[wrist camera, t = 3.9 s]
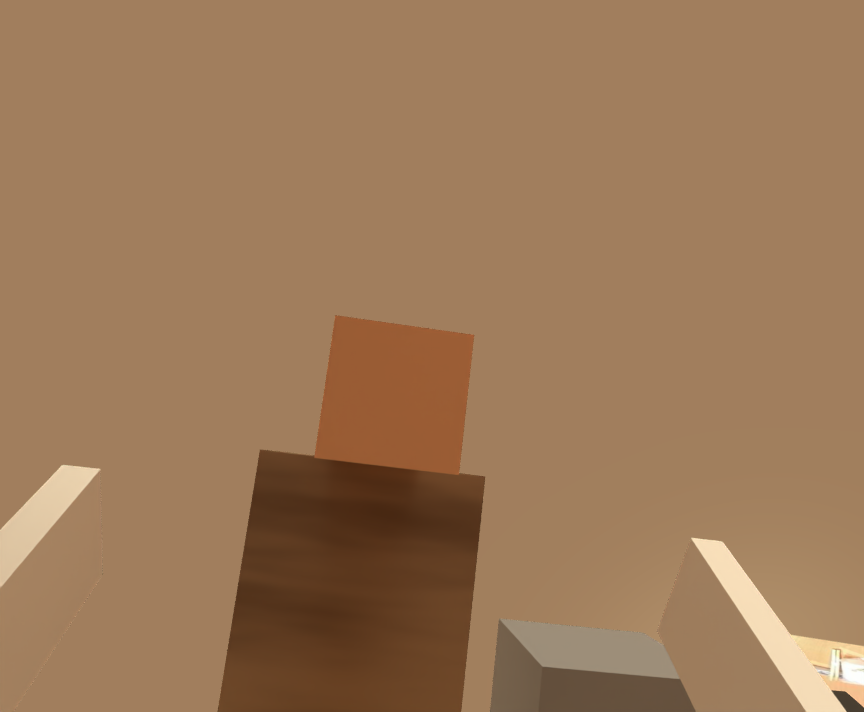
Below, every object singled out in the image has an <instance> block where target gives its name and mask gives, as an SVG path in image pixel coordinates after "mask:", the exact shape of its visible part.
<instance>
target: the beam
mask: <svg viewBox="0 0 864 712" xmlns="http://www.w3.org/2000/svg"><path fill="white" fill-rule="evenodd" d="M473 342H474V335H471V334H463V333H456V332H450V331H442V330H435V329H429V328H421V327H414V326H407V325H400V324H393V323H386V322H379V321H372V320H365V319H357V318H351V317H344V316H337V315H336V316H335V321H334V328H333V335H332V341H331V348H330V355H329V362H328V369H327V375H326V382H325V389H324V396H323V403H322V409H321V416H320V423H319V429H318V436H317V443H316V451H315V456H314V458H320V459H328V460H337V461H345V462H353V463H362V464H370V465H378V466H387V467H395V468H404V469H412V470H420V471H429V472H437V473H445V474H454V475H459V469H460V460H461V451H462V442H463V432H464V423H465V414H466V405H467V396H468V387H469V378H470V369H471V360H472V351H473Z"/></svg>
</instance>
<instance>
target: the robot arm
mask: <svg viewBox="0 0 864 712" xmlns="http://www.w3.org/2000/svg"><path fill="white" fill-rule="evenodd" d="M101 520H102V519H101V473H100V469H94V468H86V467H77V466H69V465H62V466H61V467H60V468H59V469H58V470H57V471H56V472H55V473H54V474H53V475H52V477H51V478H50V479H49V480H48V481H47V482H46V483H45V484H44V485H43V486H42V487H41V488H40V489H39V490H38V491H37V492H36V493H35V494H34V495H33V496H32V497H31V498H30V499H29V501H28V502H27V503H26V504H25V505H24V506H23V507H22V508H21V509H20V510H19V511H18V512H17V513H16V514H15V515H14V516H13V517H12V518H11V519H10V520H9V521H8V522H7V523H6V524H5V526H4V527H3V528H2V529H1V530H0V712H14V710H15V709H16V707H17V706H18V704H19V703H20V701H21V700H22V698H23V697H24V695H25V693H26V692H27V690H28V689H29V687H30V686H31V684H32V683H33V681H34V680H35V678H36V676H37V675H38V673H39V672H40V670H41V669H42V667H43V666H44V664H45V663H46V661H47V659H48V658H49V656H50V655H51V653H52V652H53V650H54V649H55V647H56V646H57V644H58V643H59V641H60V639H61V638H62V636H63V635H64V633H65V632H66V630H67V629H68V627H69V626H70V624H71V622H72V621H73V619H74V618H75V616H76V615H77V613H78V612H79V610H80V609H81V607H82V606H83V604H84V602H85V601H86V599H87V597H88V596H89V595H90V593H91V592H92V590H93V588H94V587H95V586H96V584H97V582H98V581H99V579H100V578H101V576H102V575H103V570H102V569H103V568H102V566H103V565H102V523H101V522H102V521H101ZM657 632H658V634H659V636H660V638H661V640H662V642H663V644H664V646H665V648H666V651H667V653H668V655H669V657H670V659H671V661H672V663H673V665H674V667H675V669H676V671H677V673H678V676H679V678H680V680H681V682H682V684H683V686H684V688H685V690H686V692H687V694H688V696H689V698H690V700H691V703H692V705H693V707H694V709H695V711H696V712H864V707H863V706H861V705H860V704H859V703H858V702H857V701H856V700H855V699H853V698H852V697H851V696H850V695H849V694H848V693H847V692H843V691H833V690H830V688H829V687H828V686H827V684H826V683H825V681H824V680H823V679H822V677H821V676H820V675H819V673H818V672H817V670H816V669H815V668H814V666H813V665H812V664H811V662H810V661H809V660H808V658H807V657H806V655H805V654H804V653H803V651H802V650H801V649H800V647H799V646H798V644H797V643H796V642H795V640H794V639H793V638H792V636H791V635H790V634H789V632H788V631H787V629H786V628H785V627H784V626H783V624H782V623H781V621H780V620H779V619H778V617H777V616H776V614H775V613H774V612H773V610H772V609H771V607H770V606H769V605H768V603H767V602H766V601H765V599H764V598H763V597H762V595H761V594H760V593H759V591H758V590H757V589H756V587H755V586H754V584H753V583H752V581H751V580H750V579H749V577H748V576H747V575H746V573H745V572H744V571H743V569H742V568H741V566H740V565H739V564H738V562H737V561H736V560H735V559H734V557H733V556H732V554H731V553H730V551H729V550H728V549H727V547H726V546H725V545H724V543H723V542H722V541H714V540H705V539H696V538H691V539H690V541H689V544H688V547H687V550H686V552H685V555H684V558H683V561H682V564H681V566H680V569H679V572H678V574H677V577H676V580H675V583H674V585H673V588H672V591H671V594H670V596H669V599H668V602H667V605H666V607H665V610H664V613H663V616H662V619H661V621H660V624H659V627H658V629H657Z"/></svg>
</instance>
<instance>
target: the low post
mask: <svg viewBox="0 0 864 712" xmlns="http://www.w3.org/2000/svg"><path fill="white" fill-rule="evenodd" d="M490 712H696V711H695V709H694V707H693V705H692V703H691V700H690V698H689V696H688V694H687V692H686V690H685V688H684V686H683V684H682V682H681V680H680V678H679V676H678V673H677V671H676V669H675V667H674V665H673V663H672V661H671V659H670V657H669V655H668V653H667V651H666V648H665V646H664V645H662V644H661V643H659V642H658V641H656V640H654V639H652V638H651V637H649V636H648V635H646V634H644V633H640V632H630V631H619V630H609V629H599V628H589V627H578V626H568V625H557V624H548V623H536V622H527V621H517V620H507V619H499V624H498V635H497V645H496V656H495V666H494V677H493V687H492V698H491V708H490Z"/></svg>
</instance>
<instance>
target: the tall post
mask: <svg viewBox="0 0 864 712" xmlns="http://www.w3.org/2000/svg"><path fill="white" fill-rule="evenodd" d="M314 456H315V455H306V454H298V453H290V452H280V451H269V450H260V453H259V460H258V466H257V472H256V478H255V484H254V490H253V496H252V502H251V509H250V515H249V521H248V527H247V534H246V540H245V546H244V552H243V558H242V564H241V570H240V576H239V583H238V589H237V596H236V601H235V607H234V614H233V620H232V626H231V632H230V638H229V644H228V650H227V657H226V663H225V669H224V675H223V681H222V687H221V694H220V700H219V706H218V712H461V708H462V698H463V688H464V679H465V669H466V659H467V649H468V640H469V630H470V620H471V609H472V601H473V590H474V581H475V571H476V562H477V552H478V542H479V532H480V523H481V513H482V503H483V493H484V484H485V477H484V476H477V475H470V474H463V473H459V475H454V474H445V473H437V472H429V471H420V470H412V469H404V468H395V467H387V466H378V465H370V464H362V463H353V462H345V461H337V460H328V459H320V458H314Z"/></svg>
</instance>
